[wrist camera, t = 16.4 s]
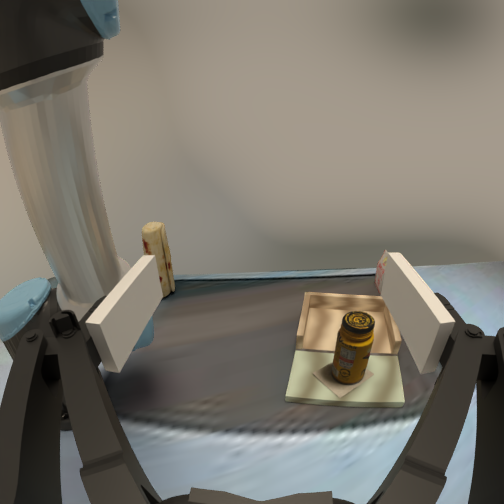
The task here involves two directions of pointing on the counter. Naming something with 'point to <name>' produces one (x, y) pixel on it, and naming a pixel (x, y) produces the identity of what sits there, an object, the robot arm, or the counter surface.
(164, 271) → the food model
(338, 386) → the condiment
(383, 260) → the tea bag
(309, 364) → the open-front wooden tray
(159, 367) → the counter surface
